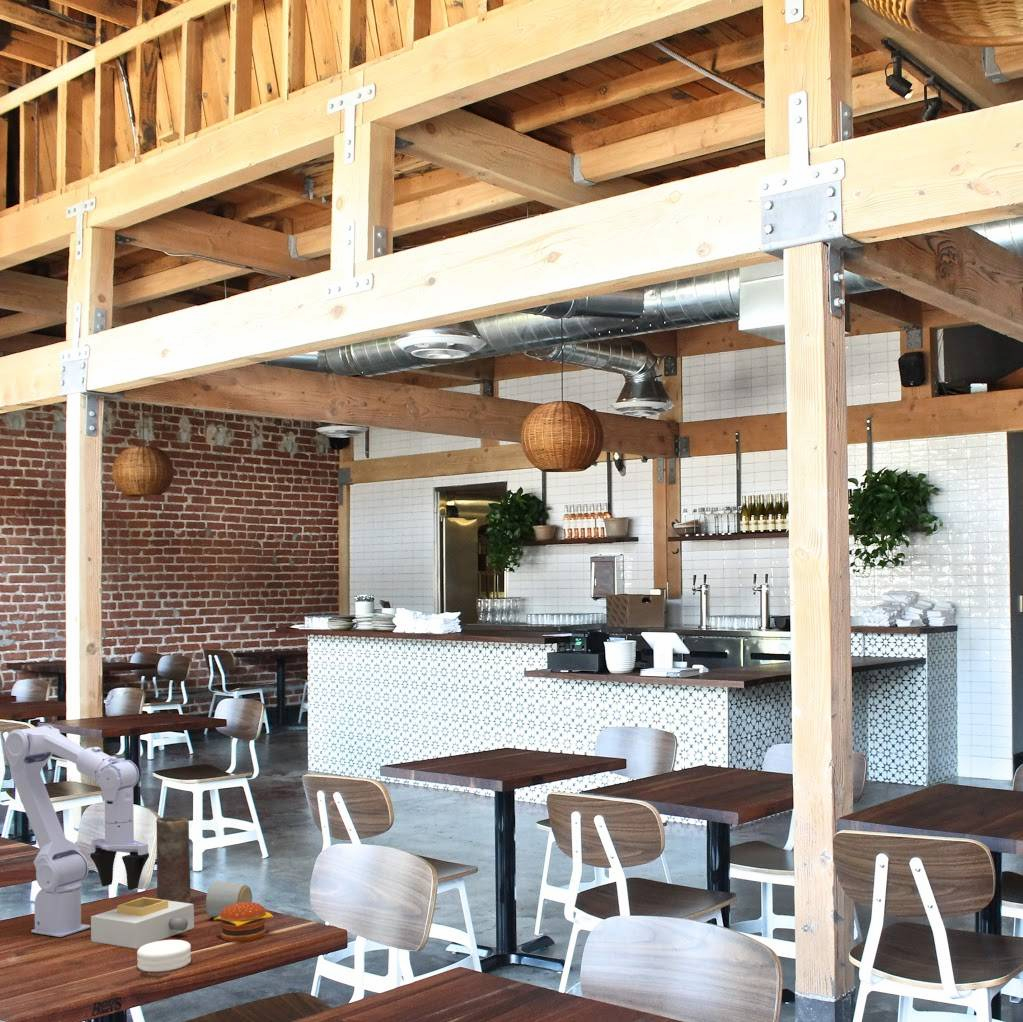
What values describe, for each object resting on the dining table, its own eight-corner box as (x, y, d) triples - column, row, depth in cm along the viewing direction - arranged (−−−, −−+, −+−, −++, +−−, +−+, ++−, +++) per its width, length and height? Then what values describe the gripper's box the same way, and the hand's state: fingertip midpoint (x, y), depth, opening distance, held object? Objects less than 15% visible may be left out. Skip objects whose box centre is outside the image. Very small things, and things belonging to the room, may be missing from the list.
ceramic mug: (240, 922, 262) (239, 885, 263) (204, 921, 264) (204, 885, 264) (260, 910, 272) (259, 875, 273) (226, 909, 274) (225, 874, 275)
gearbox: (91, 941, 251) (90, 909, 252) (150, 921, 265) (149, 891, 266) (146, 950, 243) (146, 917, 244) (204, 929, 257) (203, 898, 258)
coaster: (134, 962, 237) (133, 943, 237) (186, 954, 241) (186, 936, 241) (140, 976, 228) (140, 957, 228) (195, 967, 232) (195, 948, 232)
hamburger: (247, 927, 258) (247, 895, 259) (275, 934, 252) (275, 902, 252) (210, 937, 251) (209, 904, 252) (238, 945, 245) (237, 911, 245)
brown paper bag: (165, 903, 281) (164, 814, 282) (196, 903, 280) (194, 814, 281) (151, 911, 274) (150, 821, 275) (182, 911, 272) (181, 821, 274)
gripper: (79, 821, 255) (80, 888, 254) (129, 826, 248) (130, 894, 247) (106, 815, 261) (106, 880, 260) (155, 820, 254) (156, 886, 253)
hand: (119, 887), depth 254 cm, fingers open, 7 cm apart
